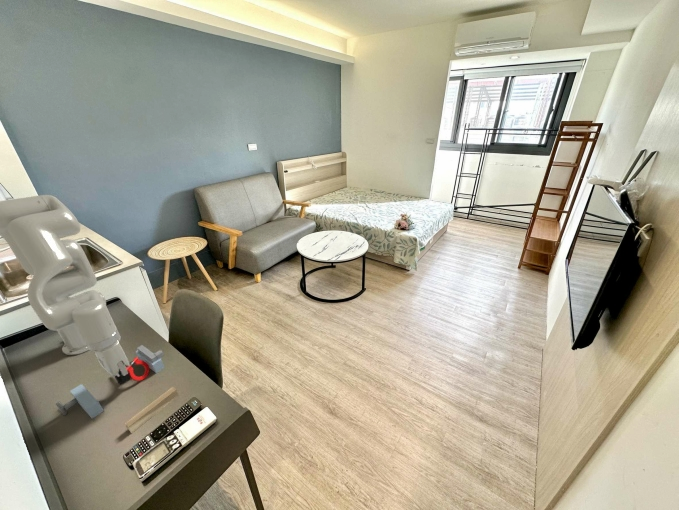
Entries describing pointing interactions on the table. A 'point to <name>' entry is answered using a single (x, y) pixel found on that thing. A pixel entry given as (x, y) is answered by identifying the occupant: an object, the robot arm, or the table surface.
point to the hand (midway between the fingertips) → (124, 380)
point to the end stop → (151, 410)
